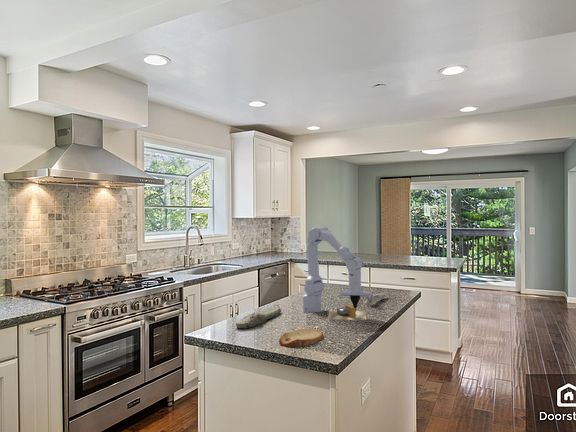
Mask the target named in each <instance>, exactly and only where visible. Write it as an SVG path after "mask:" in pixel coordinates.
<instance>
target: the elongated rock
mask: <svg viewBox="0 0 576 432" xmlns="http://www.w3.org/2000/svg"><path fill="white" fill-rule="evenodd" d="M281 313H282V309H281V307H270V308H266V309H264V310H261V311H259V312H252V313H250V314H247V315H245V316H243V317H242V318H240V319H239V320H238V321H237V322H236V323H235V326H236V328H237V329H248V328H255V327H257V326H259V325H262V324H263V323H265V322H266V321H268V320H271V319H272V318H275V317H276V316H278V315H280V314H281Z"/></svg>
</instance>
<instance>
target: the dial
mask: <svg viewBox="0 0 576 432" xmlns="http://www.w3.org/2000/svg"><path fill="white" fill-rule="evenodd" d="M336 310H337V314H338V315H343V316H350V317H352V318H354V317H356V314H355V307H354V306H353V305H350V304H345V306H343V307H342V306H341V307H340V306H339V307H337V308H336Z"/></svg>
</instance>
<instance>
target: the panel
mask: <svg viewBox="0 0 576 432" xmlns="http://www.w3.org/2000/svg"><path fill="white" fill-rule="evenodd" d="M355 314H356V317H354V318H357V319H358V320H357V321H367V315H366V310H356V312H355ZM327 320H340V321H341V320H344V321H345V320H347V321H349V320H350V321H356V320H355V319H353V318H352V317H350V316H343V315H338V314H337V309H330V310H329V312H328V316H327Z"/></svg>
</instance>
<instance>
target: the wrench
mask: <svg viewBox="0 0 576 432" xmlns="http://www.w3.org/2000/svg"><path fill="white" fill-rule="evenodd" d="M364 292H368V291H364ZM387 297H388V295H387V293H379V294H378V293H376V294H371V297H365V300H364V302H363V304H364V305H366V306H367V307H370V306H371V304H372V303H373V301H379V300H386V299H387ZM385 298H386V299H385Z"/></svg>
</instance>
